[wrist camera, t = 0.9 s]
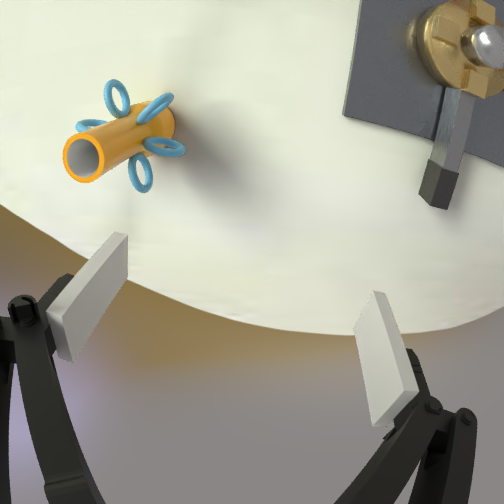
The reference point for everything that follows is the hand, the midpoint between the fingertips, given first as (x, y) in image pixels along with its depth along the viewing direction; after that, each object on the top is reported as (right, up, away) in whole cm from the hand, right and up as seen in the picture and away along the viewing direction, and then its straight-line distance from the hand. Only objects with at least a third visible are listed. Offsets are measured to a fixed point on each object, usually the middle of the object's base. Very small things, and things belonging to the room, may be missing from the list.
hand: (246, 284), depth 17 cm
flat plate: (+23, +25, +9) cm, 35 cm away
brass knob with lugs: (+22, +19, +12) cm, 31 cm away
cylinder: (-11, +16, +18) cm, 27 cm away
